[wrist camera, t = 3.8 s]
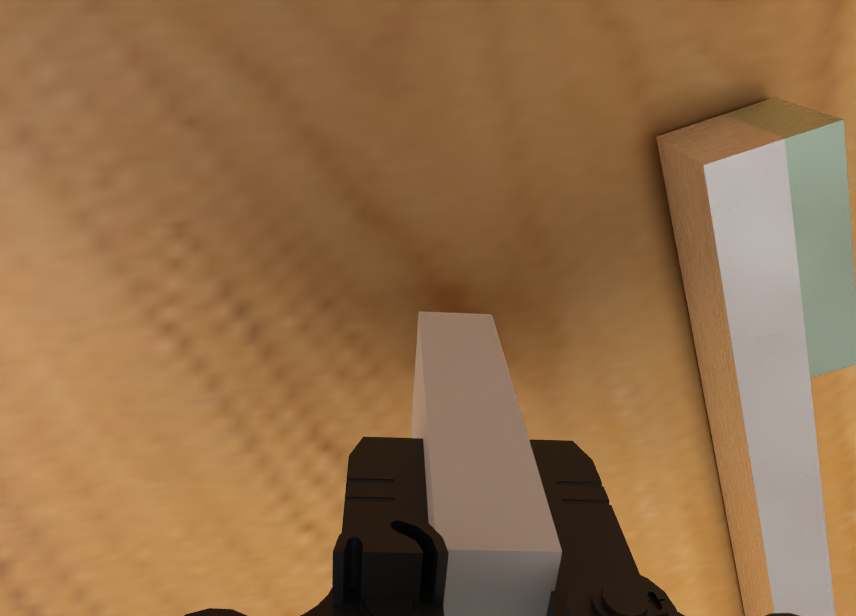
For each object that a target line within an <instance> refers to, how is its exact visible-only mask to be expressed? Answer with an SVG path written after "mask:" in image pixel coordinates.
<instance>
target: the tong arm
mask: <svg viewBox="0 0 856 616" xmlns="http://www.w3.org/2000/svg"><path fill="white" fill-rule="evenodd" d="M656 138H657V144H658V149H659V155H660V160H661V165H662V171H663V176H664V181H665V187H666V192H667V198H668V203H669V208H670V214H671V219H672V225H673V230H674V235H675V241H676V246H677V252H678V257H679V262H680V268H681V273H682V278H683V284H684V289H685V295H686V300H687V305H688V311H689V316H690V322H691V327H692V332H693V338H694V343H695V349H696V354H697V359H698V365H699V370H700V375H701V381H702V386H703V392H704V397H705V402H706V408H707V413H708V419H709V424H710V429H711V435H712V440H713V446H714V451H715V456H716V462H717V467H718V472H719V478H720V483H721V489H722V494H723V499H724V505H725V510H726V516H727V521H728V526H729V532H730V537H731V543H732V548H733V553H734V559H735V564H736V570H737V575H738V580H739V586H740V591H741V596H742V602H743V607H744V613H745V616H766V615H768V614H770V613H792V614H796V615H799V616H835V609H834V599H833V590H832V580H831V571H830V562H829V552H828V543H827V533H826V524H825V514H824V505H823V496H822V486H821V477H820V467H819V458H818V448H817V439H816V430H815V420H814V411H813V401H812V392H811V382H810V378H812V377H815V376H818V375H822V374H825V373H829V372H832V371H836V370H839V369H842V368H846V367H849V366H853V365H856V290H855V275H854V261H853V246H852V232H851V217H850V202H849V188H848V173H847V159H846V144H845V130H844V119H840V118H837V117H834V116H831V115H828V114H824V113H821V112H818V111H815V110H812V109H808V108H805V107H802V106H799V105H796V104H793V103H789V102H786V101H783V100H780V99H777V98H772V99H769V100H766V101H763V102H760V103H757V104H754V105H751V106H748V107H744V108H741V109H738V110H735V111H732V112H729V113H726V114H723V115H720V116H717V117H714V118H711V119H708V120H705V121H702V122H699V123H696V124H693V125H690V126H687V127H684V128H681V129H678V130H675V131H672V132H669V133H666V134H663V135H660V136H657V137H656Z"/></svg>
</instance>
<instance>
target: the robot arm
mask: <svg viewBox="0 0 856 616" xmlns="http://www.w3.org/2000/svg"><path fill="white" fill-rule="evenodd" d="M411 431H412V438H386V437H363V438H362V439H361V441H360V442H359V443H358V445H357V446H356V447H355V449H354V450H353V451H352V452H351V454H350V455H349V461H348V472H347V483H346V493H345V504H344V515H343V525H342V533H341V534H340V535H339V537H338V540H337V542H336V545H335V548H334V550H333V587H332V589H331V591H330V592H329V594H328V595H327V596H326V597H325V598H324V599H323V600H322V601H321V602H320V603H319V604H318V605H317V606H316V607H314V608H313V609H311V610H310V611H308V612H306V613H305V614H303V615H301V616H684V615H682V614H681V613H679V612H677V610H676V608H675V606H674V605H673V603H672V602H671V601H670V599H669V598H668V596H667V595H666V593H665V592H664V591H663V590H662V589H660V588H659V587H658V586H657V585H655V584H654V583H653V582H652V581H650V580H649V579H648V578H645V577H643V576H641V575H640V574H639V571H638V569H637V566H636V564H635V561H634V559H633V557H632V554H631V552H630V549H629V547H628V545H627V542H626V540H625V537H624V535H623V533H622V530H621V528H620V525H619V523H618V520H617V518H616V516H615V513H614V511H613V508H612V506H611V505H609V499H608V496H607V494H606V491H605V489H604V487H602V482H601V479H600V477H599V475H598V472H597V470H596V467H595V465H594V463H593V460H592V459H591V458H590V457H589V456H588V455H587V454H586V453H585V452H584V451H583V450H582V449H580V448H579V447H578V446H577V445H576V444H575V443H574V442H573V441H560V440H529V438H528V434H527V431H526V427H525V424H524V421H523V417H522V414H521V410H520V407H519V404H518V400H517V397H516V393H515V390H514V387H513V383H512V380H511V377H510V373H509V370H508V366H507V363H506V360H505V356H504V353H503V349H502V346H501V343H500V339H499V336H498V332H497V329H496V326H495V322H494V319H493V315H492V314H470V313H446V312H422V311H419V317H418V331H417V346H416V361H415V376H414V391H413V405H412V420H411ZM185 616H247V615H244V614H242V613H239V612H237V611H235V610H232V609H212V608H209V609H205V610H201V611H198V612H194V613H190V614H186V615H185ZM766 616H799V615H796V614H792V613H770V614H768V615H766Z"/></svg>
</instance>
